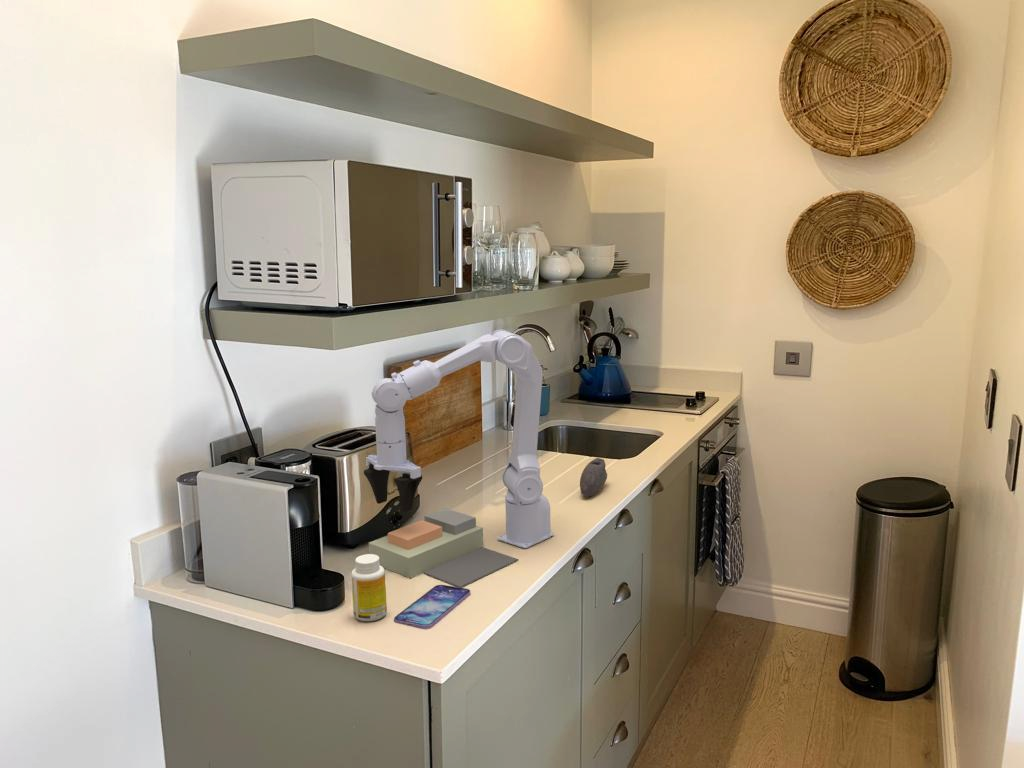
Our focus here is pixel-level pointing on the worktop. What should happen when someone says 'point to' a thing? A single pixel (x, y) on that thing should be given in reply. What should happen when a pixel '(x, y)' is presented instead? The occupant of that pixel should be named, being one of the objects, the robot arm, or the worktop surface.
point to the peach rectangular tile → (415, 534)
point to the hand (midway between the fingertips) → (394, 506)
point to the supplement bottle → (368, 588)
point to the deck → (425, 552)
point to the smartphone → (432, 606)
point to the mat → (470, 567)
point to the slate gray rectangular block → (451, 521)
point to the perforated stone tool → (593, 477)
